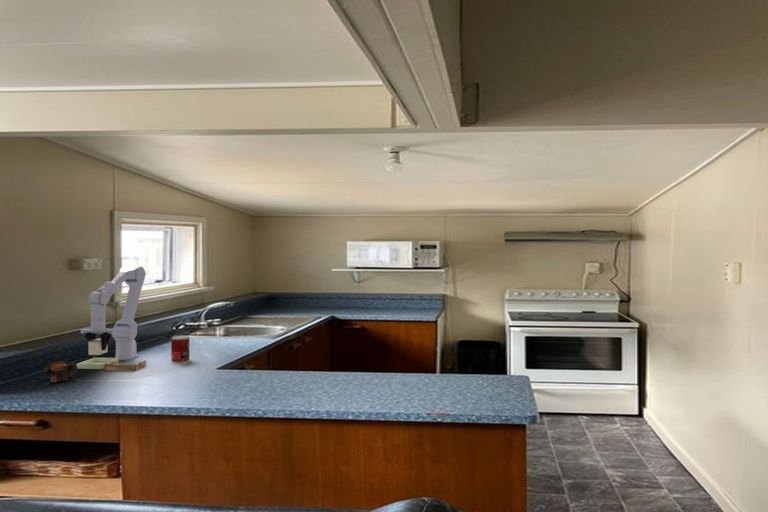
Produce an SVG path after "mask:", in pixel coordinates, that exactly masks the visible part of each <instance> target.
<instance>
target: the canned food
mask: <svg viewBox="0 0 768 512" xmlns="http://www.w3.org/2000/svg"><path fill="white" fill-rule="evenodd" d="M170 339H171V343H170V344H171V345H170V346H171V348H170V349H171V350H170V351H171V352H170V354H171V355H170V356H171V357H170V359H171V361H172V362H187V360H188V361H189V360H190V336H189V335H175V336H172V337H171V338H170Z"/></svg>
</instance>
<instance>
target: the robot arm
mask: <svg viewBox="0 0 768 512" xmlns="http://www.w3.org/2000/svg"><path fill="white" fill-rule="evenodd" d="M146 275H147V274H146V270H145V268H144V267H143V266H140V265H139V266H128V265H127V266H126V265H123V266H122V267H121V268H120V269H118V273H117V274H116V275H115V276H114V277H113V279H112V280H111V281H105V282H104V283H103V284H102V286H100V287H99V288H97V290H96V291H92V292H90V293H89V294H88V297H87V302H88V304H89V309H90V328H89V327H88V328H81V329H80V334H84V338H85V339H86V341H87V342H88V341H90V340H94V339H97V338H96V337H97V334H99V337H100V338H101V343H102V350H106V347H107V343H109V342H110V338H111V337H112V338H113V339H114V341H115V358H119V361H120V360H124V361H125V360H131V359H135V358H137V357H139V355H138V354H137V341H136V340H135V338H136V337H137V335H138V324H137V322H136V321H135V320H134V319H135V316H136V312H137V308H138V303H139V301H140V300H139V299H140V296H141V292H142V288H143V285H144V283H145V280H146ZM122 283H125V285H127V286H128V287H129V288H128V292H127V294H126V295H127V296H126V300H125V303H124V308H123V311H122V315H121V318H120V319H118V320H117V321H116V322H115V323H114V326H113V327H112V328H108V327H107V328H106V326H107V325H106V323H107V320H106V319H107V317H106V316H107V311H106V310H107V304H108V303H109V301H110V299H111V297H112V295H114V294H115V293H116V292H117V291H118V287H119V286H121V284H122Z"/></svg>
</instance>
